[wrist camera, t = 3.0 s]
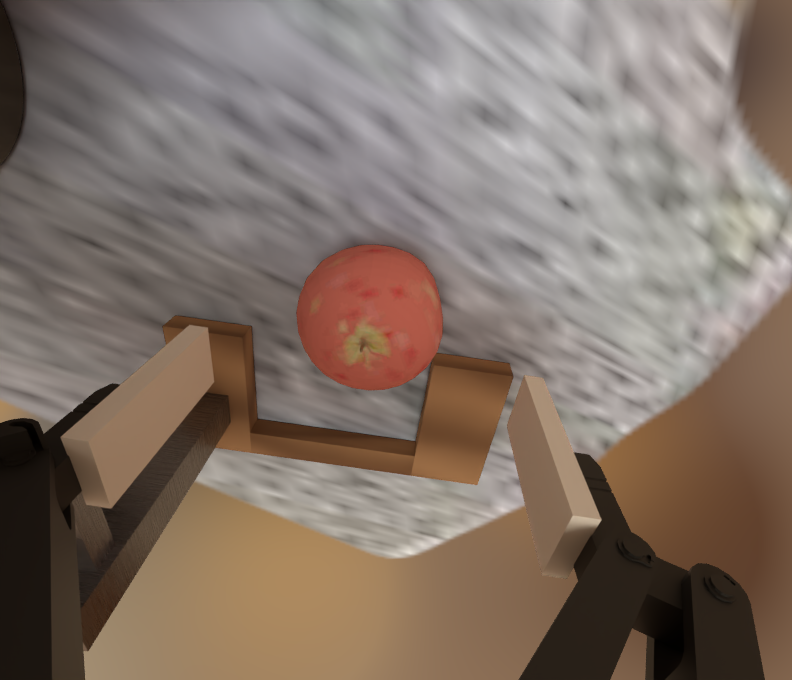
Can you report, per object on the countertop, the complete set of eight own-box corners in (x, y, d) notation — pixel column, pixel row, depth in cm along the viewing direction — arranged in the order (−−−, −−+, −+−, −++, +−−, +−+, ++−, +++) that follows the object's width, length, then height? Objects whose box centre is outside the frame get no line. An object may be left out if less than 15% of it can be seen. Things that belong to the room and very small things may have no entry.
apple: (310, 226, 23) (260, 279, 16) (441, 223, 22) (447, 277, 15) (326, 340, 27) (291, 422, 20) (439, 340, 26) (443, 425, 19)
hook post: (183, 329, 25) (-44, 536, 13) (221, 334, 25) (30, 547, 13) (197, 417, 29) (30, 643, 17) (231, 421, 29) (87, 651, 17)
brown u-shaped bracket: (175, 315, 26) (162, 326, 25) (509, 363, 26) (513, 376, 25) (194, 429, 31) (184, 443, 30) (475, 469, 32) (477, 485, 30)
